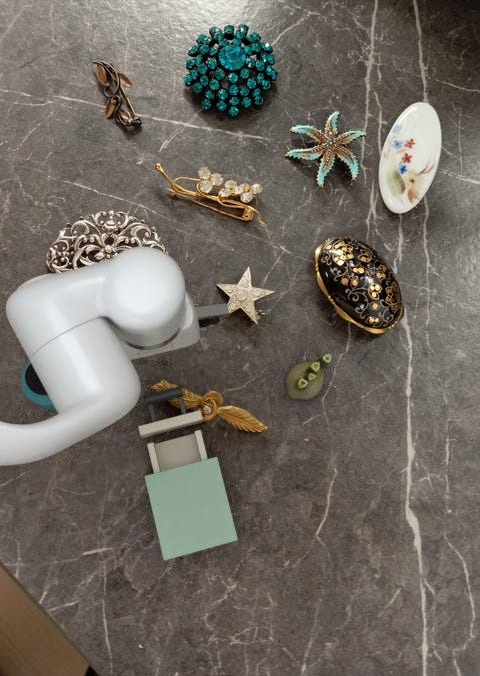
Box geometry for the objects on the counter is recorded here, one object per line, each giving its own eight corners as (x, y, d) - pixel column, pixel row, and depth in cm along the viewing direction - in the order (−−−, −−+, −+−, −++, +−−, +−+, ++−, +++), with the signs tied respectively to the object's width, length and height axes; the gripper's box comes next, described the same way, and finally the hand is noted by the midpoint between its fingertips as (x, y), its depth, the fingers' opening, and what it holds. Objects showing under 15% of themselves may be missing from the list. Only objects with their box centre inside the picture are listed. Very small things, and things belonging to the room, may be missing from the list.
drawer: (133, 400, 122) (131, 396, 116) (192, 385, 123) (193, 380, 117) (156, 499, 119) (155, 500, 113) (216, 483, 120) (218, 483, 114)
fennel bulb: (316, 359, 126) (330, 347, 114) (328, 393, 125) (343, 384, 113) (277, 372, 125) (287, 361, 114) (288, 406, 124) (299, 398, 112)
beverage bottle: (97, 380, 123) (81, 362, 104) (72, 424, 122) (51, 414, 102) (55, 358, 124) (31, 335, 104) (30, 401, 122) (1, 386, 103)
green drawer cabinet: (147, 476, 121) (144, 476, 112) (215, 458, 122) (217, 456, 114) (165, 555, 118) (163, 560, 110) (234, 536, 119) (238, 540, 111)
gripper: (67, 368, 87) (85, 386, 103) (241, 328, 89) (232, 352, 105) (52, 294, 88) (72, 323, 105) (223, 255, 90) (217, 291, 107)
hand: (152, 338), depth 105 cm, fingers open, 9 cm apart
